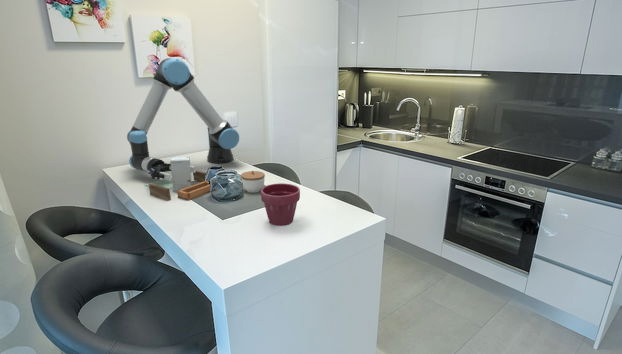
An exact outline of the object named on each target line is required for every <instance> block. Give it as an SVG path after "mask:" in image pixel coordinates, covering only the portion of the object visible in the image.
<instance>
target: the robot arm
mask: <svg viewBox="0 0 622 354" xmlns="http://www.w3.org/2000/svg"><path fill="white" fill-rule="evenodd" d="M152 81H153V83H152V85H151V87H150V90H149V92H148V93H147V96H146V97H145V100H144V102H143V104H142V106H141V108H140V110H139V112H138V114H137V116H136V118H135V121H134V122H133V125H132V127H131V129H130V130H129V131H128V132H127V134H126V140H127V141H128V142H129V145H130V149H131V156H130V157H129V160H128V162H129V166H130V167H132V168H133V169H135V170H137V171H138V170H139V171H142V172H147V174H148V175H150V177H151V179H152V180H154V179H156V181H158V180H161V179H165V180H169V181H170V180H171V178H172V175H171V173H168V172H171V163H167V162H165V161H164V160H163V159H158V158H157V157H151V156H150V152H149V146H148V145H149V144H148V137H147V134H148V132H149V131H150V128H151V126H152V124H153V122H154V120H155V118H156V116H157V114H158V112H159V110H160V108H161V106H162V104H163V102H164V100H165V98H166V95H167V94H168V91H169V90H172V89H173V90H174V91H175V92H176V93H180V95H181V96H182V97H183V98H184V99H185V100H186V102H187V103H188V104H189V106H191V108H192V110H194V112H195V113H196V114H197V115H198V117H199V118H200V119H201V120H202V121H203V122H204V124H205V125H206V127H207V134H208V146H209V147H208V148H209V149H208V152H207V156H206V159H207V162H209V163H210V164H211V163H212V164H224V163H226V164H227V163H229V162H232V161H234V154H233V152H232V150H231V149H234V148H235V147H237V145H238V144H239V142H240V134H239V132H238V131H237V130H236V129H234V127H232V125H231V124H230V123H229V122H228V120H226V119H223V118H222V117H221V115H220V114H219V113H218V111H217V110H216V109H215V108H214V106H213V105H212V104H211V102H210V101H209V100H208V99H207V97H206V95H204V93H203V92H202V90H200V88H199V86H197V85H196V83H195V77H194V75H193V74H192V73H191V71H190V68H189V66H188V65H187V64H186V62H184V61H183V60H181V59H179V58H177V57H175V58H174V57H172V58H164V59H162V60H161V61H160V62H159V63H158V66H157V69H156V71H155V73H154V76H153V78H152ZM190 169H191V173H192V174H193V173H196V170H197V169H196V167H195V166H192V165H190Z"/></svg>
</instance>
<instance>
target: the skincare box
mask: <svg viewBox="0 0 622 354" xmlns="http://www.w3.org/2000/svg"><path fill="white" fill-rule="evenodd" d="M170 164H171V167H170V169H171V171H170V172H171V178H172V185H173V188H172V191H173V193H175V192H177V191H179V190H181V189H184V188H187V187H190V186H193V185H192V172H191V169H190V166H191V158H190V157H189V156H185V157H183V156H179V157H171V158H170Z"/></svg>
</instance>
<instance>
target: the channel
mask: <svg viewBox="0 0 622 354" xmlns="http://www.w3.org/2000/svg"><path fill="white" fill-rule="evenodd" d="M195 170H196V173H193V172H192V175H193V178H192V179H193V181H195V182H198V183H201V182H204V181H205V175H206V173H207V172H205V171H201V170H198V169H195ZM150 183H151V184H149V183H148V184H149V187H148V188H149V195H150V196H153V197H154V198H158V199H162V200H164V201H170V200H171V199H172V198H171V189H169V188H166V187H162V186H159V185H156V184H153V183H152V182H150Z"/></svg>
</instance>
